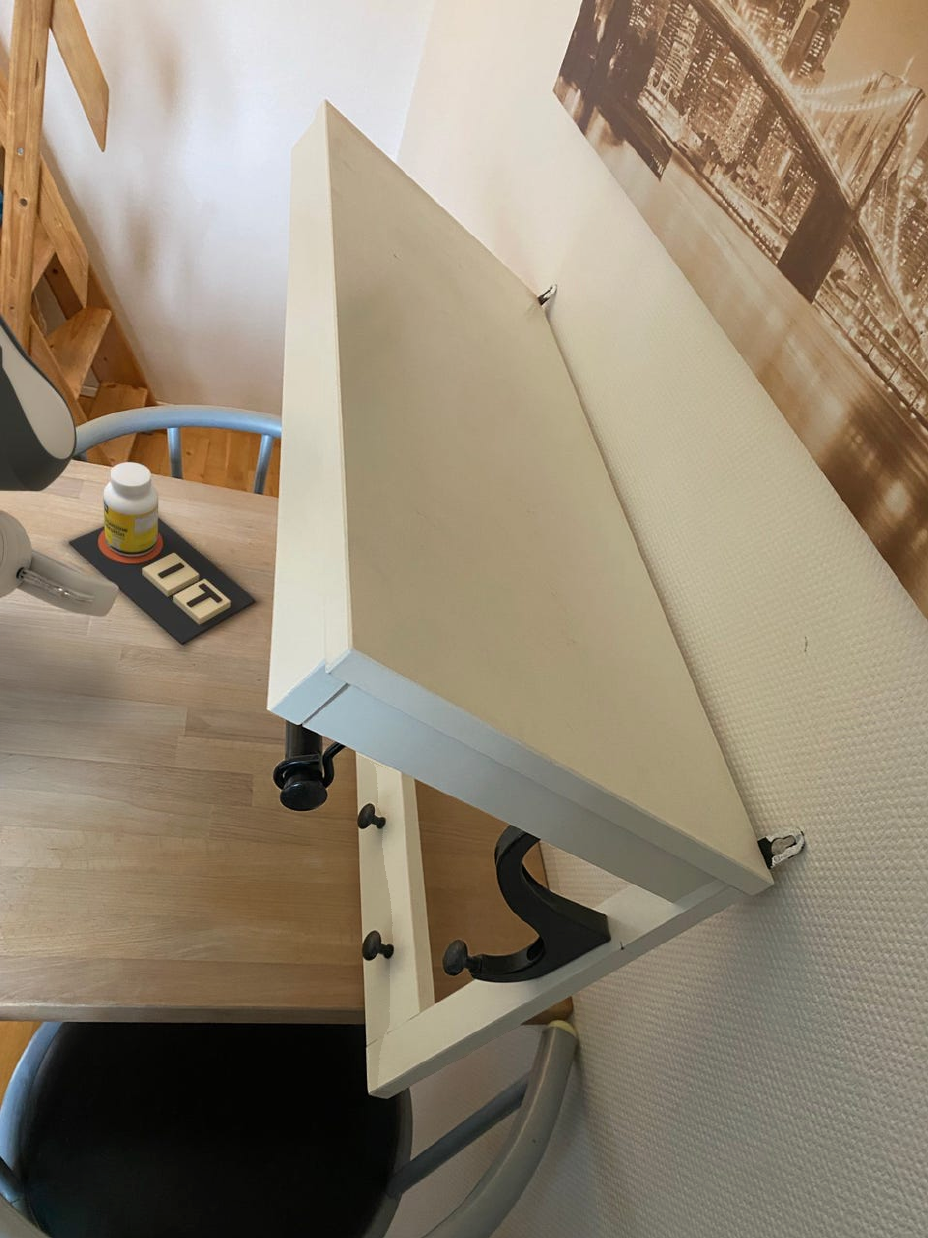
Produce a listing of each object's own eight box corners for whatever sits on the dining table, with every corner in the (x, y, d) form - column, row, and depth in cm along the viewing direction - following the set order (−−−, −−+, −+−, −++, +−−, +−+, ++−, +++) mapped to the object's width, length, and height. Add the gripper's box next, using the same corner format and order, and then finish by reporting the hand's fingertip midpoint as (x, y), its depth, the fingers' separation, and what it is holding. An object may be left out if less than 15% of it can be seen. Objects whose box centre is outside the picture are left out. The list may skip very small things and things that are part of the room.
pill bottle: (100, 528, 109) (96, 458, 101) (151, 522, 112) (151, 455, 104) (111, 562, 106) (108, 493, 98) (163, 555, 109) (164, 488, 101)
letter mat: (69, 547, 107) (67, 533, 105) (146, 512, 115) (146, 499, 113) (181, 648, 101) (182, 635, 99) (255, 604, 109) (257, 592, 107)
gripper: (90, 568, 75) (152, 579, 89) (-106, 476, 76) (-14, 501, 90) (60, 631, 75) (127, 632, 89) (-136, 537, 76) (-39, 553, 89)
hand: (55, 566), depth 89 cm, fingers open, 8 cm apart
